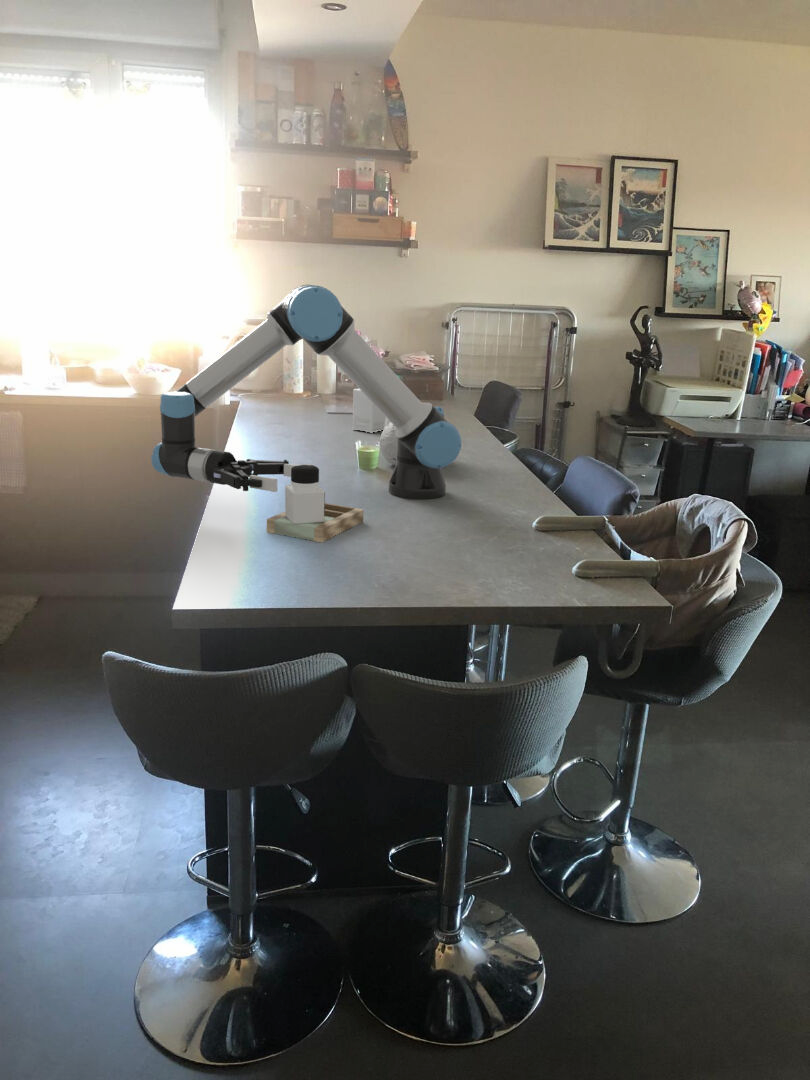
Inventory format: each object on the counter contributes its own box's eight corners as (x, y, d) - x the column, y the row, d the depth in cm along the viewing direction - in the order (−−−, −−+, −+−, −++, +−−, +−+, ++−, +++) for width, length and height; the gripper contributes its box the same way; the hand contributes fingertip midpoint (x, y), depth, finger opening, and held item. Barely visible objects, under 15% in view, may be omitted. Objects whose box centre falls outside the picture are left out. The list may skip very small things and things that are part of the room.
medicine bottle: (324, 522, 190) (325, 468, 186) (292, 524, 187) (293, 470, 184) (315, 513, 196) (316, 461, 192) (284, 515, 193) (284, 463, 190)
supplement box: (386, 430, 317) (387, 389, 312) (372, 433, 309) (373, 391, 305) (365, 427, 321) (366, 386, 317) (351, 430, 314) (352, 388, 309)
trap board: (311, 512, 208) (311, 500, 207) (363, 521, 202) (363, 509, 201) (266, 532, 191) (266, 519, 190) (321, 542, 186) (322, 529, 185)
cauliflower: (370, 447, 250) (404, 380, 252) (364, 459, 275) (395, 399, 277) (433, 480, 252) (467, 414, 254) (421, 489, 277) (452, 429, 279)
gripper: (245, 472, 210) (321, 484, 202) (178, 493, 188) (261, 508, 180) (245, 441, 208) (322, 453, 200) (177, 459, 186) (261, 473, 178)
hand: (293, 479), depth 190 cm, fingers open, 13 cm apart
